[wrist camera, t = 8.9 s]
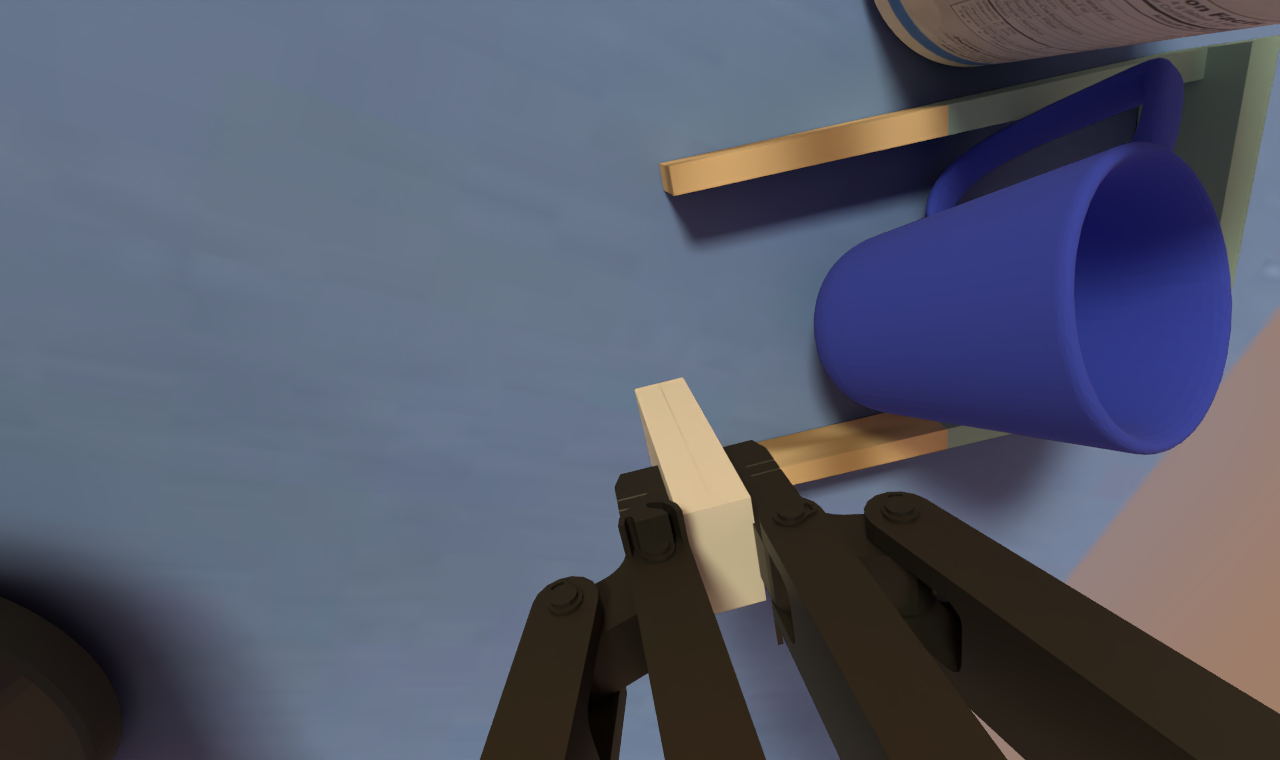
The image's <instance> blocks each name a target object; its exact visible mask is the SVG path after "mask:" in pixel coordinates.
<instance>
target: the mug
mask: <svg viewBox="0 0 1280 760" xmlns="http://www.w3.org/2000/svg"><path fill="white" fill-rule="evenodd" d="M1183 100H1184V83H1183V79H1182V76H1181V74H1180V72H1179V71H1178V70H1177V68H1176V67H1175V66H1174V65H1173V64H1172V63H1171V62H1170V61H1169V60H1168V59H1164V58H1155V59H1151V60H1148V61H1145V62H1143V63H1140V64H1138V65H1135V66H1133V67H1130V68H1128V69H1126V70H1124V71H1122V72H1119V73H1117V74H1115V75H1113V76H1111V77H1108V78H1106V79H1104V80H1102V81H1100V82H1098V83H1095V84H1093V85H1091V86H1089V87H1087V88H1084V89H1082V90H1080V91H1078V92H1076V93H1074V94H1071V95H1069V96H1067V97H1065V98H1063V99H1061V100H1058V101H1056V102H1054V103H1052V104H1050V105H1048V106H1046V107H1044V108H1042V109H1040V110H1038V111H1036V112H1034V113H1032V114H1030V115H1028V116H1026V117H1024V118H1022V119H1020V120H1018V121H1017V122H1015V123H1013V124H1011V125H1009V126H1007V127H1005V128H1003V129H1001V130H1000V131H998V132H996V133H994V134H993V135H991V136H989V137H988V138H986V139H984V140H983V141H981V142H980V143H978V144H976V145H975V146H973V147H972V148H970V149H969V150H968V151H966V152H965V153H963V154H962V155H961V156H960V157H958V158H957V159H956V160H955V161H954V162H952V163H951V164H950V165H949V166H948V167H947V168H946V169H945V170H944V172H943V173H942V174H941V175H940V177H939V178H938V179H937V181H936V182H935V184H934V186H933V188H932V189H931V192H930V194H929V197H928V200H927V206H926V217H925V218H923V219H920V220H917V221H915V222H912V223H909V224H907V225H904V226H901V227H899V228H896V229H893V230H891V231H888V232H885V233H882V234H880V235H877V236H875V237H872V238H870V239H867V240H866V241H864V242H862V243H860V244H858V245H857V246H855V247H853V248H852V249H850V250H849V251H848V252H847V253H845V254H844V255H843V256H842V257H841V258H840V259H839V260H838V261H837V262H836V263H835V264H834V265H833V267H832V268H831V269H830V271H829V272H828V274H827V276H826V278H825V279H824V281H823V283H822V286H821V288H820V291H819V294H818V297H817V301H816V306H815V313H814V335H815V341H816V346H817V351H818V354H819V357H820V360H821V362H822V365H823V367H824V369H825V371H826V372H827V374H828V376H829V377H830V379H831V380H832V381H833V383H834V384H835V385H836V386H837V387H838V388H839V390H841V391H842V392H843V393H844V394H845V395H846V396H848V397H849V398H850V399H852V400H854V401H855V402H857V403H859V404H861V405H863V406H865V407H867V408H870V409H873V410H876V411H879V412H884V413H889V414H895V415H901V416H907V417H913V418H919V419H926V420H932V421H938V422H944V423H950V424H956V425H962V426H968V427H974V428H981V429H987V430H993V431H999V432H1005V433H1011V434H1017V435H1023V436H1029V437H1035V438H1042V439H1048V440H1054V441H1060V442H1066V443H1072V444H1078V445H1084V446H1090V447H1097V448H1103V449H1109V450H1115V451H1121V452H1127V453H1133V454H1143V455H1146V454H1156V453H1160V452H1164V451H1167V450H1170V449H1172V448H1173V447H1175V446H1177V445H1178V444H1180V443H1182V442H1183V441H1184V440H1185V439H1186V438H1187V437H1189V436H1190V434H1192V433H1193V432H1194V431H1195V429H1196V428H1197V427H1198V425H1199V424H1200V423H1201V421H1202V420H1203V418H1204V417H1205V415H1206V413H1207V411H1208V410H1209V408H1210V406H1211V404H1212V402H1213V400H1214V397H1215V395H1216V392H1217V389H1218V387H1219V384H1220V382H1221V379H1222V375H1223V371H1224V367H1225V363H1226V359H1227V354H1228V347H1229V339H1230V332H1231V314H1232V295H1231V276H1230V269H1229V262H1228V255H1227V249H1226V245H1225V241H1224V237H1223V233H1222V229H1221V225H1220V223H1219V220H1218V217H1217V215H1216V212H1215V209H1214V206H1213V204H1212V201H1211V199H1210V197H1209V195H1208V194H1207V192H1206V190H1205V188H1204V186H1203V184H1202V183H1201V181H1200V180H1199V178H1198V177H1197V175H1196V174H1195V173H1194V171H1193V170H1192V169H1191V168H1190V167H1189V165H1188V164H1187V163H1186V162H1185V161H1184V160H1183V159H1182V158H1180V157H1179V156H1178V155H1177V154H1176V153H1174V152H1173V150H1174V147H1175V144H1176V140H1177V137H1178V133H1179V128H1180V123H1181V117H1182V109H1183ZM1142 104H1143V108H1142V112H1141V115H1140V119H1139V123H1138V127H1137V130H1136V132H1135V135H1134V137H1133V139H1132V142H1131V143H1126V144H1123V145H1119V146H1116V147H1114V148H1111V149H1108V150H1105V151H1103V152H1100V153H1097V154H1095V155H1092V156H1089V157H1087V158H1084V159H1081V160H1079V161H1076V162H1073V163H1071V164H1068V165H1065V166H1062V167H1060V168H1057V169H1054V170H1052V171H1049V172H1046V173H1044V174H1041V175H1038V176H1036V177H1033V178H1030V179H1028V180H1025V181H1022V182H1019V183H1017V184H1014V185H1011V186H1009V187H1006V188H1003V189H1001V190H998V191H995V192H993V193H990V194H987V195H985V196H982V197H979V198H976V199H974V200H971V201H968V202H966V203H963V204H960V205H958V206H956V205H957V203H958V201H959V200H960V198H961V197H962V196H963V195H964V193H965V192H966V191H967V190H968V189H969V188H970V187H971V186H972V185H973V184H974V183H975V182H976V181H978V180H979V179H980V178H981V177H983V176H984V175H986V174H987V173H989V172H990V171H992V170H993V169H995V168H997V167H998V166H1000V165H1002V164H1004V163H1006V162H1007V161H1009V160H1011V159H1013V158H1015V157H1017V156H1019V155H1021V154H1023V153H1025V152H1027V151H1029V150H1032V149H1034V148H1036V147H1038V146H1040V145H1043V144H1045V143H1047V142H1049V141H1052V140H1054V139H1056V138H1059V137H1061V136H1064V135H1066V134H1069V133H1071V132H1073V131H1076V130H1078V129H1081V128H1083V127H1086V126H1088V125H1091V124H1093V123H1096V122H1098V121H1101V120H1104V119H1106V118H1109V117H1111V116H1114V115H1116V114H1119V113H1122V112H1124V111H1127V110H1129V109H1132V108H1135V107H1137V106H1140V105H1142Z"/></svg>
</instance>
